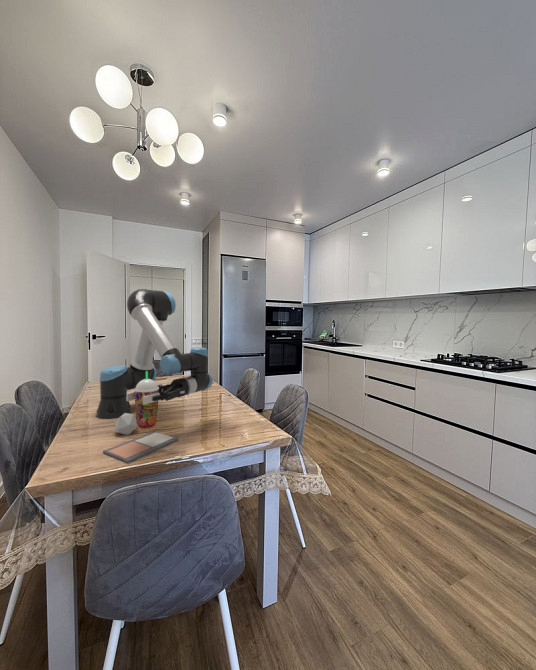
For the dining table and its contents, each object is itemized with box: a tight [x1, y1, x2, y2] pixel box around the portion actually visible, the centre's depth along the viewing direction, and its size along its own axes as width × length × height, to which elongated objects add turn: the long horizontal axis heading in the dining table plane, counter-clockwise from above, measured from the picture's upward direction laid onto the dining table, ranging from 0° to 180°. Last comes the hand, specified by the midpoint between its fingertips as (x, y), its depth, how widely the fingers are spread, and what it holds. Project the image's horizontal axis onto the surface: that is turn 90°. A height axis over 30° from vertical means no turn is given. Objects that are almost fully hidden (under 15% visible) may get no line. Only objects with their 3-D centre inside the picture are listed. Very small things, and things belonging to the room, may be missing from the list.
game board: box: [102, 431, 179, 464], centre depth 105 cm, size 14×21×1 cm, turn 150°
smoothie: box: [133, 371, 159, 429], centre depth 104 cm, size 8×8×20 cm
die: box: [114, 413, 139, 436], centre depth 117 cm, size 8×9×10 cm
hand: (135, 399), depth 100 cm, fingers closed on smoothie, 8 cm apart
